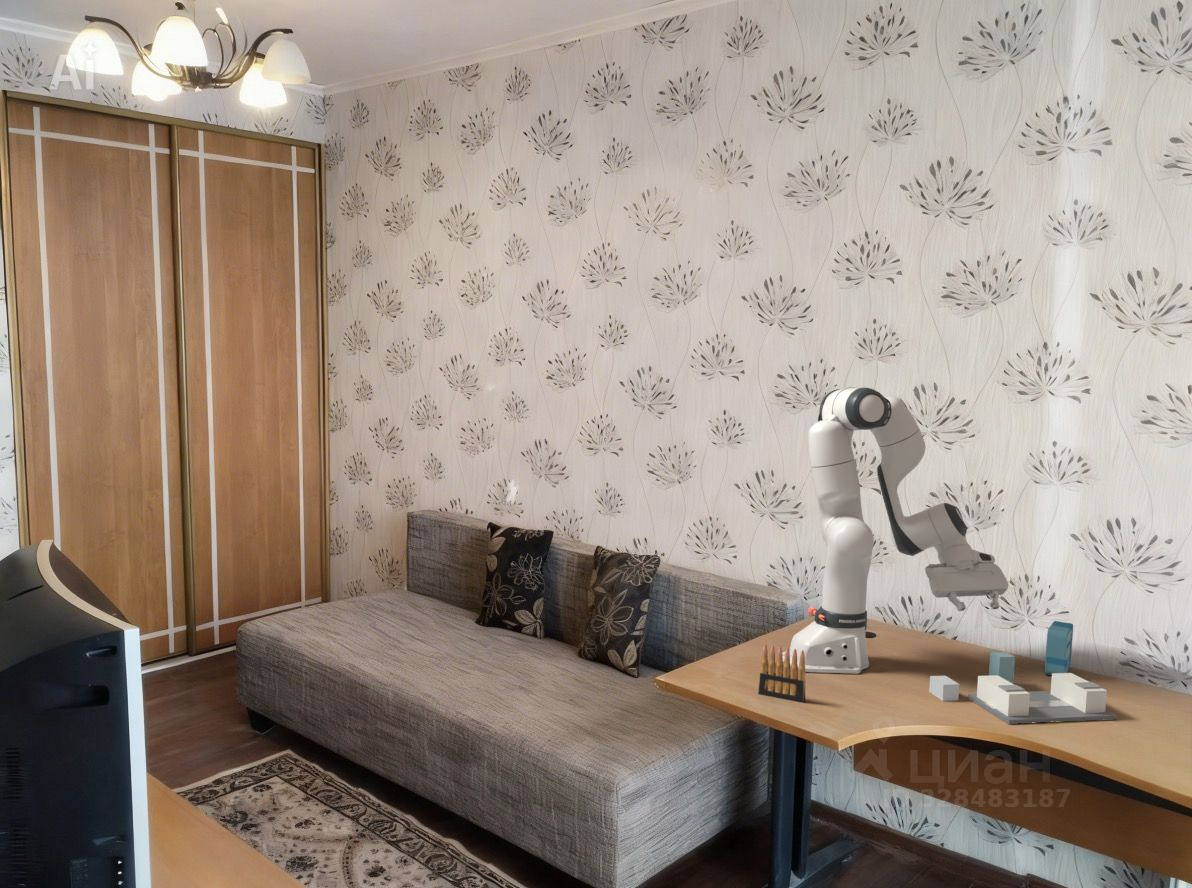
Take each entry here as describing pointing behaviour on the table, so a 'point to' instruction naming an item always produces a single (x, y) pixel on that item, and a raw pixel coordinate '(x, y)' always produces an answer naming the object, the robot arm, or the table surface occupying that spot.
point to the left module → (1003, 695)
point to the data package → (1058, 648)
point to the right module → (1078, 692)
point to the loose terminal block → (944, 688)
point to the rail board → (1044, 710)
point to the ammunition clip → (782, 675)
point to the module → (1002, 665)
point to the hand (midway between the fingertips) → (979, 609)
